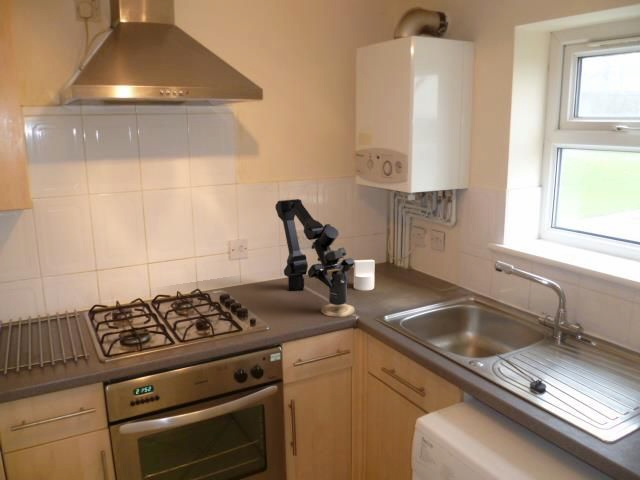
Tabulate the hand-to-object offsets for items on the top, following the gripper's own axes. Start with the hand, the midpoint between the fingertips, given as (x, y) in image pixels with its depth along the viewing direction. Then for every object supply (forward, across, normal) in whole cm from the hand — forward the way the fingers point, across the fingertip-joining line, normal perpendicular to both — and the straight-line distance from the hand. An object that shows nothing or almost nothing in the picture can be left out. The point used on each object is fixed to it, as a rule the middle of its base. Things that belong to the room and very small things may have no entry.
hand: (339, 286), depth 206 cm
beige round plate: (+6, 0, +8) cm, 10 cm away
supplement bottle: (+4, 0, +6) cm, 7 cm away
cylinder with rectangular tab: (-6, +26, +21) cm, 35 cm away
